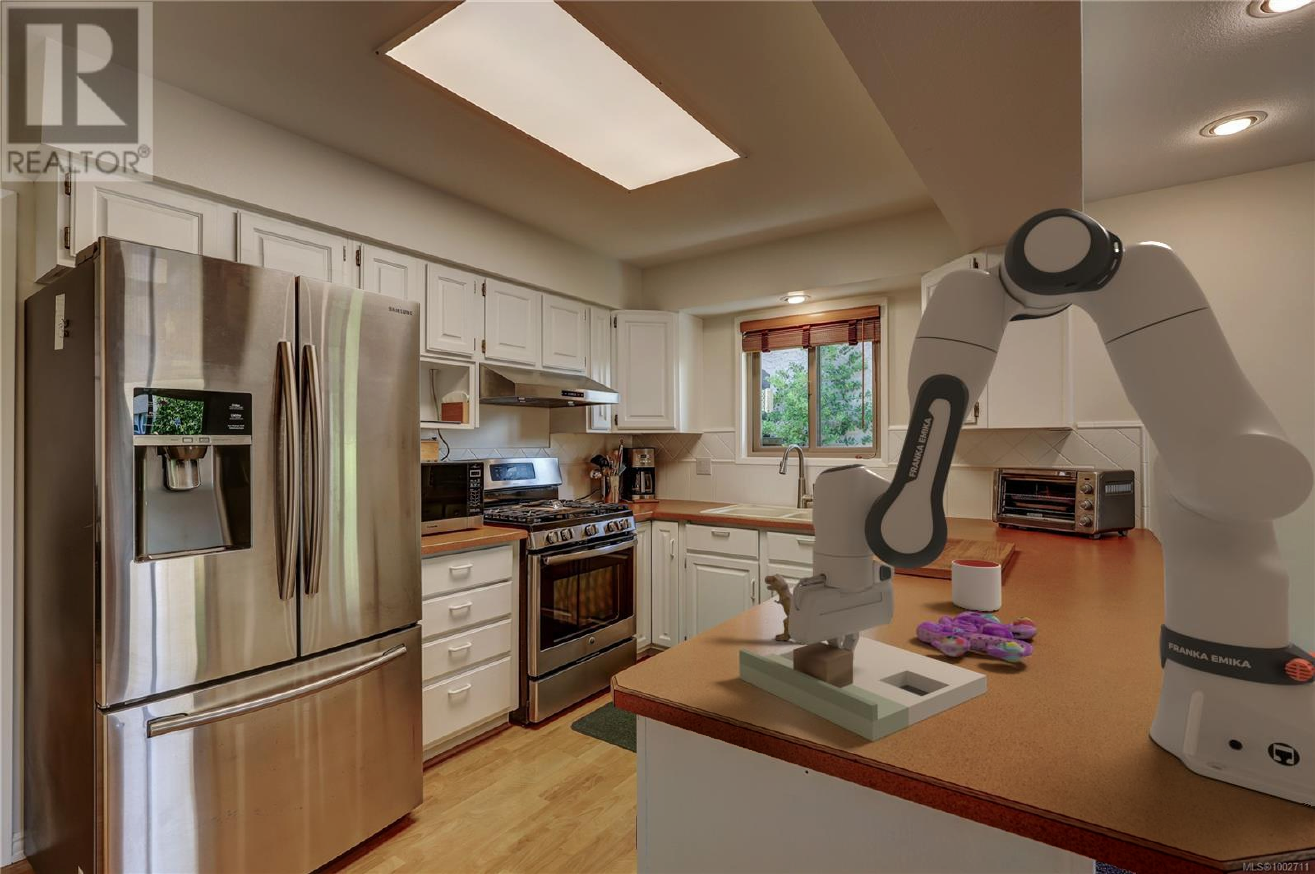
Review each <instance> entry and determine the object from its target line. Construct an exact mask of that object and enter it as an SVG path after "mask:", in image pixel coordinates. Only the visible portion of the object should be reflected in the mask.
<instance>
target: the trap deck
mask: <svg viewBox="0 0 1315 874" xmlns="http://www.w3.org/2000/svg"><path fill="white" fill-rule="evenodd" d="M844 637H845V636H844ZM822 643H825V644H828V642H827V640H826V641H822ZM842 644H843V643H841V645H842ZM803 646H807V645H805V644H803V645H801V646H796V647H793V648H789V649H785V650H781V651H778V652H774V653H771V654H766V655H760V654H758V653H756V652H753V651H750V650H749V649H748V650H747V649H746V648H743V649H739V653H738V654H739V655H738V656H739V666H738V667H739V669H738V670H739V679H740V680H743V681H745V682H746V683H748V684H750V683H751V685H752V686H755V687H757V688H759V689H761V690H763V691H765V692H767V693H769V694H771V693H772V695H774V696H775V697H778V698H780V699H783V700H784V701H786V702H789V703H790V704H793V705H795V706H797V707H799V708H801V709H803V710H806V711H808V713H811V714H814V715H815V716H818V717H820V718H822V719H824V720H827V721H828V722H830V723H832V724H834V725H837V726H839V727H841V728H843V729H845V730H848V731H850V732H852V733H853V734H856V735H858V736H861V737H862V738H864V739H867V740H868V741H870V742H875V741H878V740H881V739H883V738H884V737H887V736H889V735H892V734H894V733H897V732H898V731H901V730H903V729H905V728H909V727H910V726H912V725H914V724H918V723H919V722H921V721H923V720H926V719H929V718H931V717H933V716H936V715H938V714H941V713H942V712H944V711H947V710H949V709H951V708H954V707H955V706H958V705H961V704H963V703H965V702H967V701H970V700H973V699H974V698H977V697H979V696H981V695H984V694H986V693H987V692H988V690H987V689H988V683H987V680H988V679H987V676H988V675H986V674H984V673H981V672H977V671H974V670H970V669H967V668H965V667H964V668H963V667H961V666H957V665H954V664H951V663H949V662H944V661H941V660H938V659H935V658H932V657H928V656H926V655H923V654H920V653H919V654H918V653H915V652H913V651H909V650H906V649H903V648H899V647H897V646H893V645H889V644H886V643H884V642H880V641H877V640H874V639H871V638H868V637H865V636H862V635H859V640H858V642H857V645H856V647H855V650H854V660H853V684H850V685H848V686H845V687H842V688H838V687H836V686H833V685H831V684H828V683H826V682H824V681H821V680H819V679H816V678H814V677H811V676H809V675H807V674H804V673H802V672H799V671H797V670H794V669H793V649H797V648H800V647H803Z"/></svg>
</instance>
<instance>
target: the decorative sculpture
mask: <svg viewBox="0 0 1315 874" xmlns="http://www.w3.org/2000/svg"><path fill="white" fill-rule="evenodd" d="M915 630H916V631H915V634H916V637H917V638H918V639H919V641H920V642H923V643H925V642H927V643H928V644H931V645H932V646H933V647H935V648H936V649H937V650H940V652H941V653H942V654H944V655H946V656H949V657H953V658H956V657H958V658H959V657H960V656H962V655H964V654H965V652H967V651H969V650H975V651H986V653H987V654H988V655H990V656H991V657H994V658H999V659H1002V660H1003V661H1006V662H1008V663H1017V662H1020V661H1022V660H1023V658H1027V657H1028V656H1030V655H1032V654H1033V652H1034V651H1035V650H1034V648H1033V646H1032V645H1031V644H1030V643H1028V642H1025V641H1024V640H1026V639H1027V640H1032V639H1033V638H1034V637H1035V636H1036V635H1037V634H1038V628H1037V624H1036V623H1035V622H1034V621H1033V620H1032V619H1031V618H1028V617H1025V616H1022V617H1018V618H1016V619H1015V620H1014V621H1013V623H1007V624H1005V623H1002V622H1001V620H1000V619H999V618H998V617H996V616H995V615H994V614H989V613H981V612H978V611H963V612H961V613H959V614H957V615H956V616H954V617H952V618H951V617H949V616H947V615H943V616H941V617H939V619H938V622H936V621H922V622H921V623H919V624H918V625H917V626H916V629H915ZM927 643H926V644H927Z"/></svg>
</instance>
